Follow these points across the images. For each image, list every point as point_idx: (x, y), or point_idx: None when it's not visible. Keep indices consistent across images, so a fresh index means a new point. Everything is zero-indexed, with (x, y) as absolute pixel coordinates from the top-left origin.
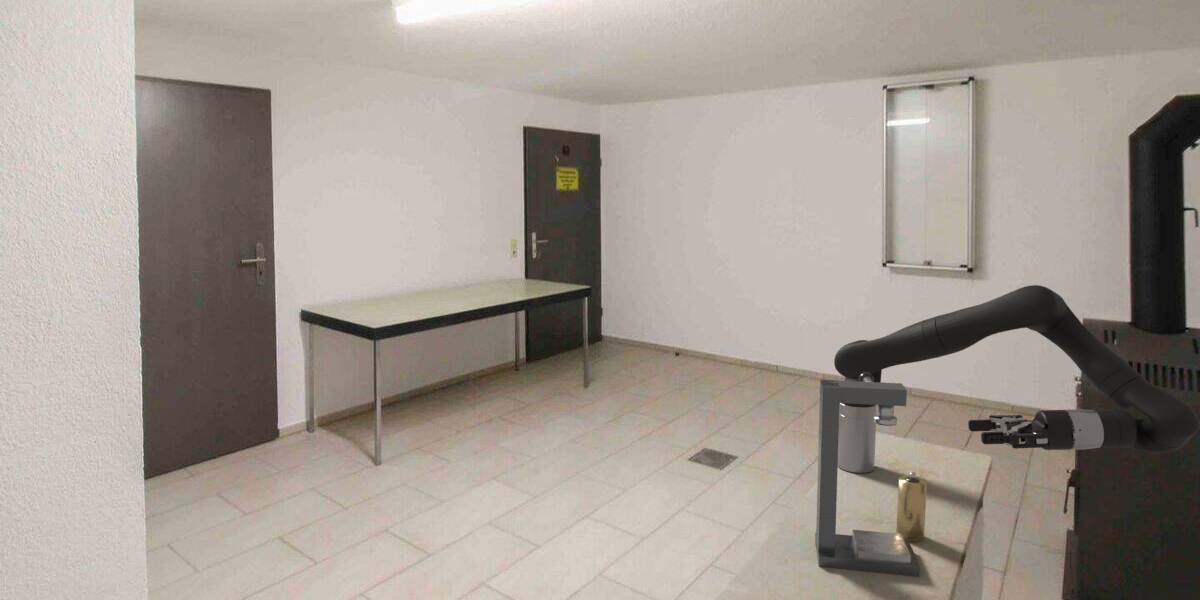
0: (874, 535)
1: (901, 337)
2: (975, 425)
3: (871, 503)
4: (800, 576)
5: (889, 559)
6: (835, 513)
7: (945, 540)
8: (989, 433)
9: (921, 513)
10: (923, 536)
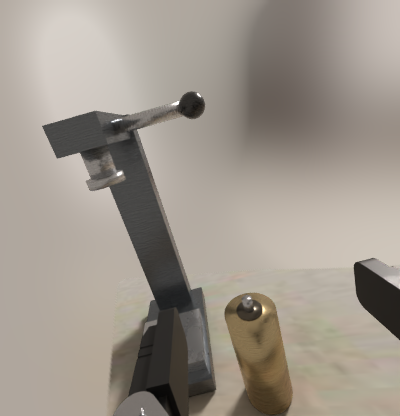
0: (188, 330)
1: None
2: (373, 293)
3: (370, 322)
4: (137, 302)
5: None
6: (145, 273)
7: None
8: (157, 330)
9: (243, 370)
10: (262, 407)
